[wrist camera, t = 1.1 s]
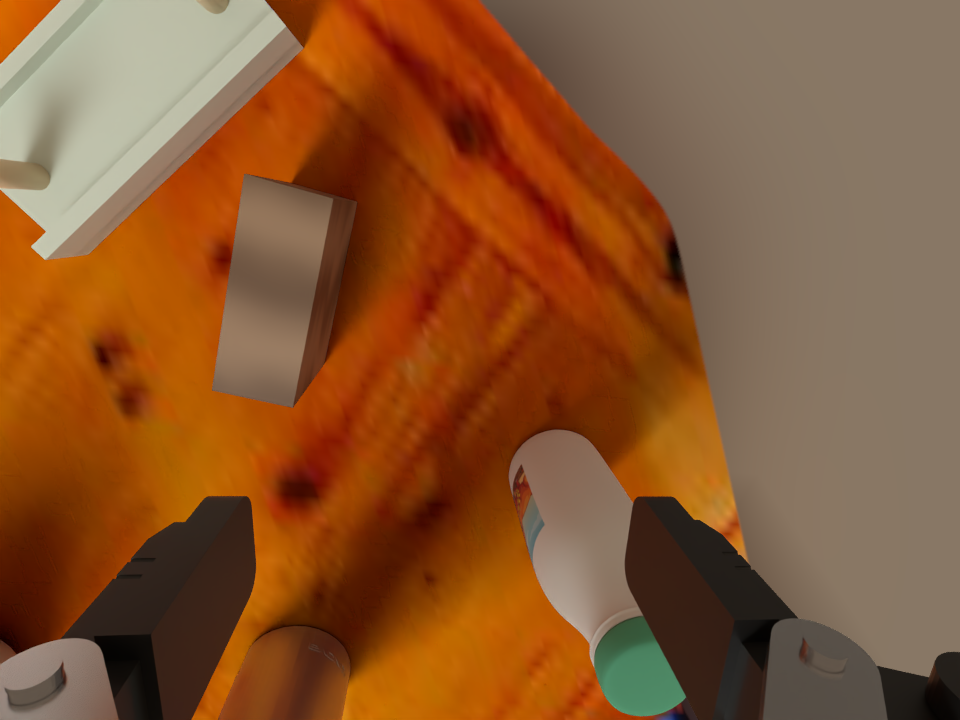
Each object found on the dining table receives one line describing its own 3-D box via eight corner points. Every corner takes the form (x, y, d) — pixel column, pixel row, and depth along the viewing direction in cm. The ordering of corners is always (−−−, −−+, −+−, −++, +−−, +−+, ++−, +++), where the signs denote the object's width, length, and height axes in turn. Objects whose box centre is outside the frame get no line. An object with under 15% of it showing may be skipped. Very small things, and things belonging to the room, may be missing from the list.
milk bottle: (527, 414, 41) (611, 594, 22) (613, 441, 42) (764, 633, 23) (493, 496, 43) (543, 730, 23) (577, 520, 44) (688, 758, 25)
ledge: (88, 254, 35) (-3, 265, 27) (-32, 142, 32) (-166, 123, 25) (303, 48, 32) (266, 1, 25) (192, -89, 30) (115, -184, 23)
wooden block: (324, 363, 38) (292, 407, 30) (259, 348, 37) (208, 389, 29) (357, 201, 35) (333, 198, 27) (288, 182, 35) (240, 172, 26)
